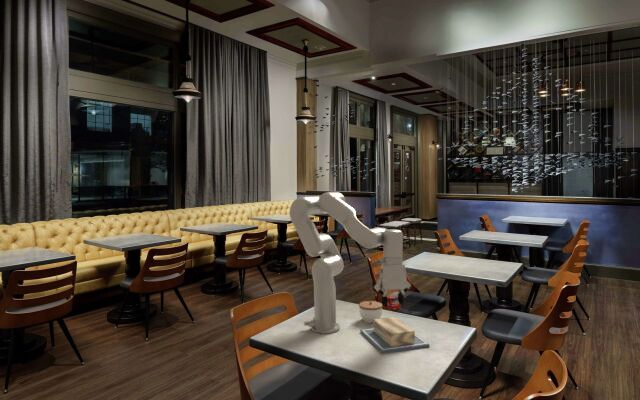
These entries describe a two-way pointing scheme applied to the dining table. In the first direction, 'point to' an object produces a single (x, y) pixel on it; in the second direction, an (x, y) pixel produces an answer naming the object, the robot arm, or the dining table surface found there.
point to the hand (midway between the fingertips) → (392, 304)
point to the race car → (393, 303)
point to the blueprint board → (384, 345)
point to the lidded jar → (370, 310)
